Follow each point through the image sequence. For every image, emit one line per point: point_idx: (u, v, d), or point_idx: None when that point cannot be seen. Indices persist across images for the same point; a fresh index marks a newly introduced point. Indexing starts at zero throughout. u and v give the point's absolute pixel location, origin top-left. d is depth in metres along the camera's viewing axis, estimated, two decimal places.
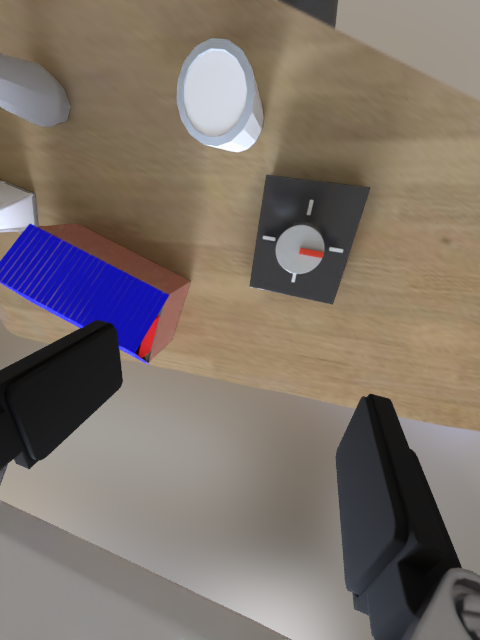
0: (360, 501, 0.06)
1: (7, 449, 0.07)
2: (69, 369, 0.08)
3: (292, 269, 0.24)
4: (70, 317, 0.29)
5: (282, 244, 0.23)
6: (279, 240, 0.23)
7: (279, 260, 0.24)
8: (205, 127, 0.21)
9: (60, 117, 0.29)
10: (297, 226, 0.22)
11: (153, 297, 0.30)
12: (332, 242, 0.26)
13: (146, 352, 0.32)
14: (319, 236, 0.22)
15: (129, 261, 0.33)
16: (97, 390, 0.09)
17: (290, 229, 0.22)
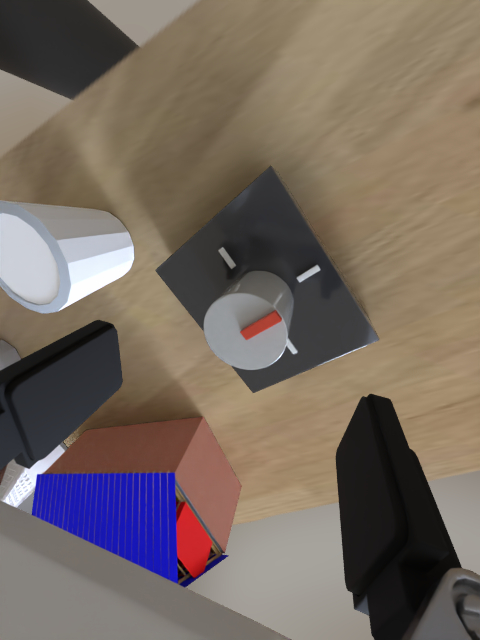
0: (360, 501, 0.06)
1: (6, 449, 0.07)
2: (69, 369, 0.08)
3: (261, 363, 0.13)
4: None
5: (217, 343, 0.13)
6: (209, 342, 0.13)
7: (234, 364, 0.14)
8: (44, 295, 0.16)
9: (9, 365, 0.30)
10: (210, 308, 0.12)
11: (161, 487, 0.21)
12: (294, 270, 0.15)
13: (206, 554, 0.22)
14: (248, 296, 0.12)
15: (132, 444, 0.27)
16: (97, 390, 0.09)
17: (206, 319, 0.13)
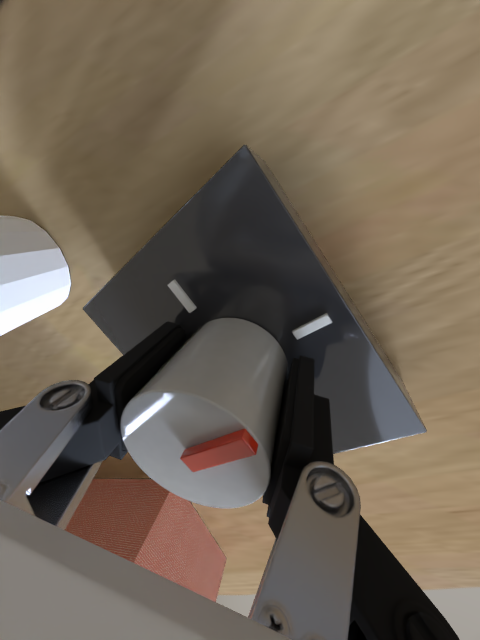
0: None
1: (110, 441, 0.07)
2: (154, 367, 0.08)
3: (225, 501, 0.07)
4: None
5: (148, 462, 0.07)
6: (134, 457, 0.07)
7: (179, 494, 0.08)
8: None
9: None
10: (127, 409, 0.07)
11: None
12: (288, 319, 0.09)
13: None
14: (191, 399, 0.06)
15: (85, 513, 0.21)
16: None
17: (124, 424, 0.07)
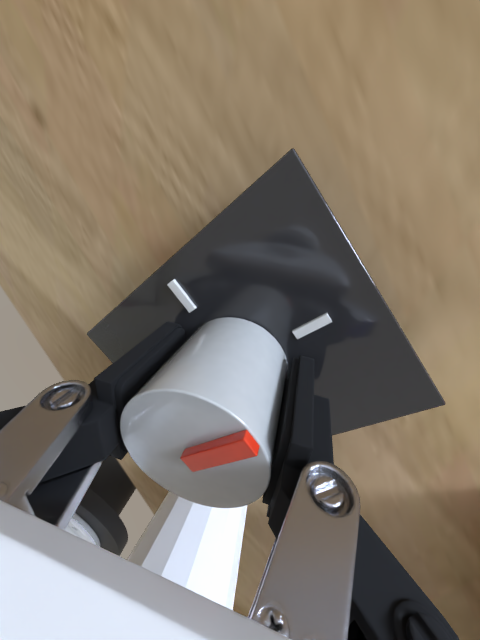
0: None
1: (110, 441, 0.07)
2: (155, 367, 0.08)
3: (224, 502, 0.07)
4: None
5: (147, 461, 0.07)
6: (132, 456, 0.07)
7: (178, 493, 0.08)
8: None
9: None
10: (127, 408, 0.07)
11: None
12: (181, 314, 0.10)
13: None
14: (193, 399, 0.06)
15: None
16: None
17: (123, 423, 0.07)
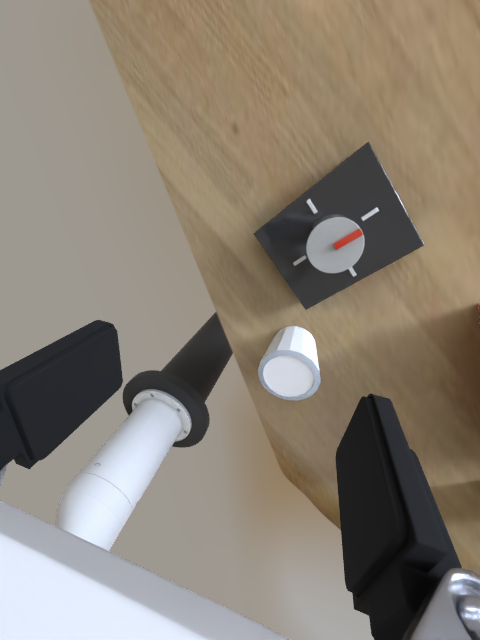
0: (360, 501, 0.06)
1: (6, 450, 0.07)
2: (69, 369, 0.08)
3: (342, 267, 0.20)
4: None
5: (314, 254, 0.21)
6: (308, 253, 0.21)
7: (323, 269, 0.21)
8: (308, 373, 0.26)
9: None
10: (314, 229, 0.20)
11: None
12: (309, 216, 0.24)
13: None
14: (343, 219, 0.19)
15: None
16: (97, 390, 0.09)
17: (310, 237, 0.20)
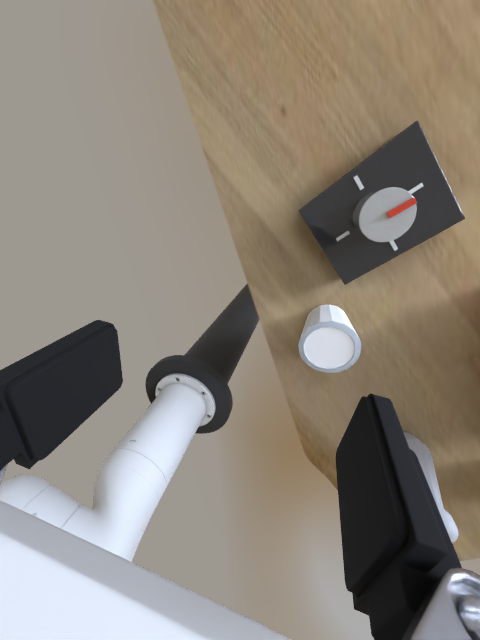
0: (360, 501, 0.06)
1: (6, 449, 0.07)
2: (69, 369, 0.08)
3: (393, 236, 0.22)
4: None
5: (366, 224, 0.22)
6: (361, 223, 0.22)
7: (374, 239, 0.22)
8: (349, 344, 0.28)
9: (412, 438, 0.36)
10: (369, 199, 0.21)
11: None
12: (355, 192, 0.25)
13: None
14: (397, 189, 0.20)
15: None
16: (97, 390, 0.09)
17: (364, 207, 0.22)
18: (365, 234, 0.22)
